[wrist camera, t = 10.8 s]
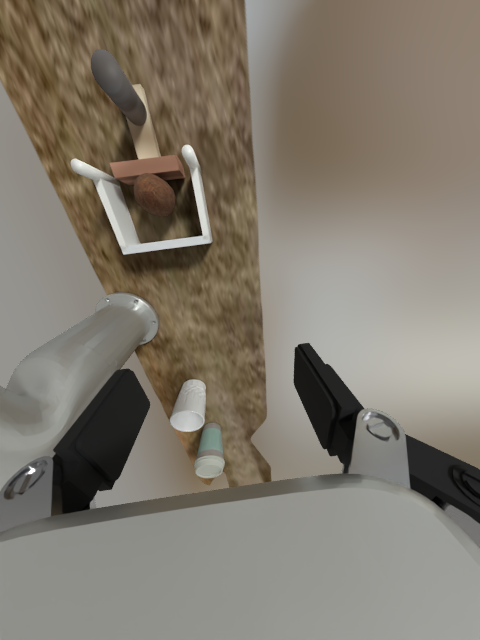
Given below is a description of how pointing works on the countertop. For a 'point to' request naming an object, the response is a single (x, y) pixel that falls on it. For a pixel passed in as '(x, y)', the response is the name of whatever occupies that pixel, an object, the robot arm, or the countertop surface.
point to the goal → (121, 216)
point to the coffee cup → (210, 452)
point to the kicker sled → (134, 123)
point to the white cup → (189, 407)
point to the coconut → (154, 194)
